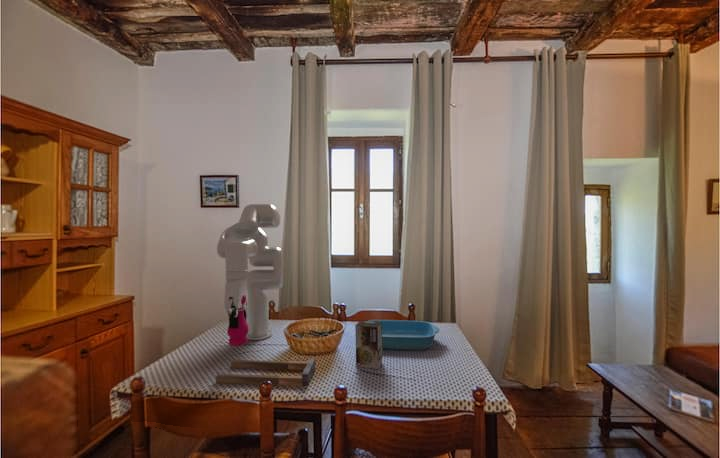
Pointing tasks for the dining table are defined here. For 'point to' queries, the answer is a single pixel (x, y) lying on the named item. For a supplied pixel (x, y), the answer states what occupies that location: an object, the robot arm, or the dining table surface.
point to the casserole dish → (407, 334)
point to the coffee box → (368, 344)
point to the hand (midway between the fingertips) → (237, 324)
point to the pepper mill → (239, 333)
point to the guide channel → (275, 380)
